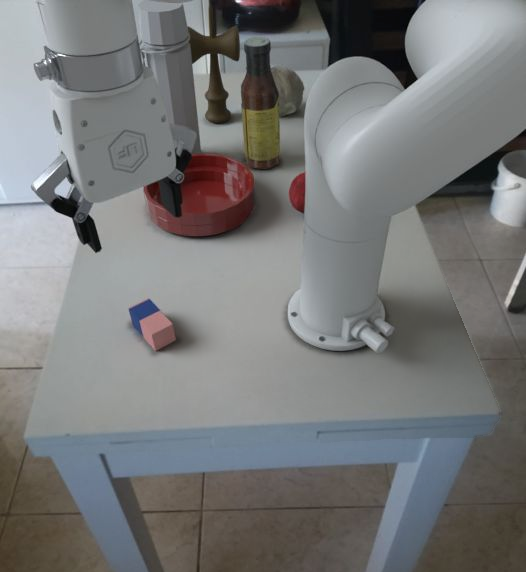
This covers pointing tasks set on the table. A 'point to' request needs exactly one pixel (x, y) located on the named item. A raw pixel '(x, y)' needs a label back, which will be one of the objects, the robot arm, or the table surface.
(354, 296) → the robot arm
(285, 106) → the garlic bulb
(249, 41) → the sauce bottle
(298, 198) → the onion
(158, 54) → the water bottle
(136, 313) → the eraser
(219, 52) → the kendama
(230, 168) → the bowl
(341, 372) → the table surface
